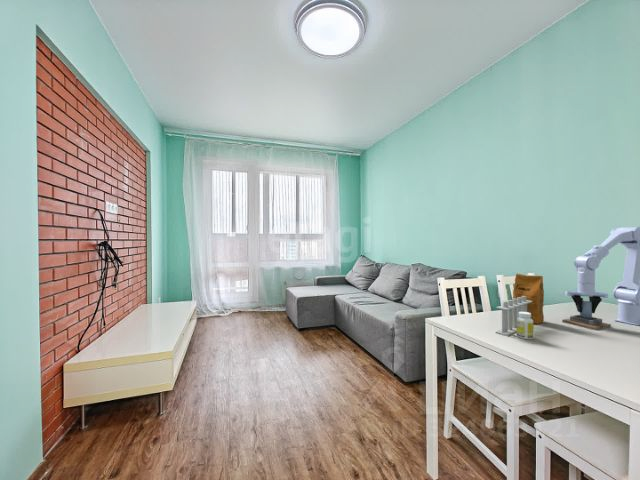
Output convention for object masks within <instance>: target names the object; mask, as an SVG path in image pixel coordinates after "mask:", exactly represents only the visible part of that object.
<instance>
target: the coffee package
mask: <svg viewBox="0 0 640 480" xmlns="http://www.w3.org/2000/svg"><path fill="white" fill-rule="evenodd" d="M543 279H544V277H543V275H526V274H521V273H518V272H517V273H515V278H514V284H513V290H512V300H513V299H517V297H522V296H526V300H529V301H533V302H531V303H528V304H527V312H529V313H531V317H530V318H531V319H532V320H533V325H534V324H535V325H540V324H541V323H542V322H544V321H545V320H544V319H545V318H544V299H545V298H544V297H545V291H544V282H543Z"/></svg>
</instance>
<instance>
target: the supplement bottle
mask: <svg viewBox="0 0 640 480" xmlns="http://www.w3.org/2000/svg"><path fill="white" fill-rule="evenodd" d="M530 317H531V313H529V312H519V317H518V318H517V332H516V336H517V337H518V338H520V339H524V340H533V339H534V323H533V320H532V319H531V318H530Z"/></svg>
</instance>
